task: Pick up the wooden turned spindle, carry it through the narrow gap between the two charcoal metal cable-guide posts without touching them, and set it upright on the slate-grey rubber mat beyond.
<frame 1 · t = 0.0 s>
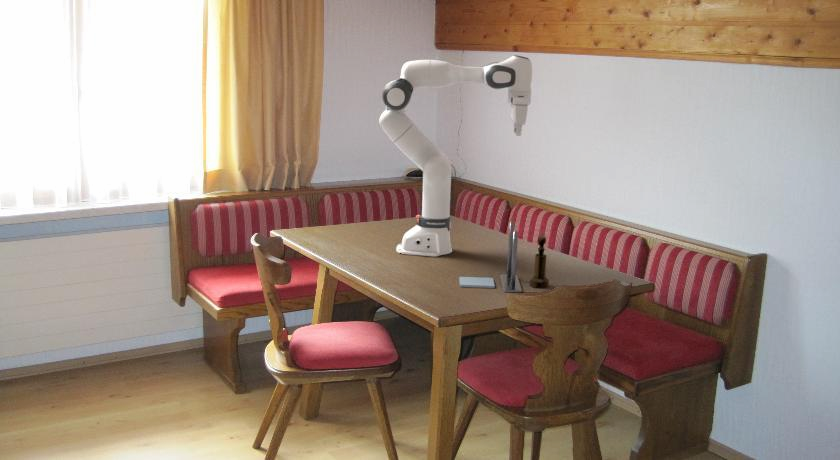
hand: (517, 134, 335), 48 cm above the table, fingers open, 8 cm apart
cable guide: (510, 284, 303), on the table
wooden turned spindle: (539, 286, 303), on the table
mat: (476, 283, 303), on the table
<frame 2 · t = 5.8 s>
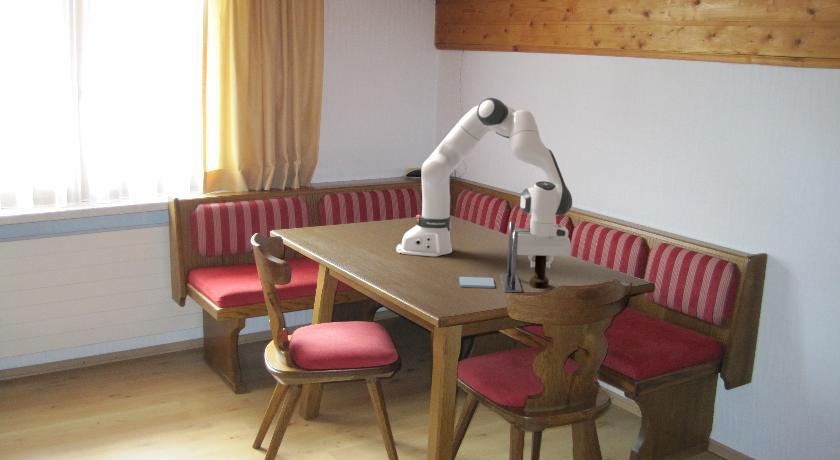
hand: (540, 267, 302), 7 cm above the table, fingers closed on wooden turned spindle, 4 cm apart
wooden turned spindle: (539, 286, 303), on the table, touching gripper
everything else where it was.
when the fingers open (9 cm above the table, at t = 15.1 s): wooden turned spindle stays where it is, resting on mat.
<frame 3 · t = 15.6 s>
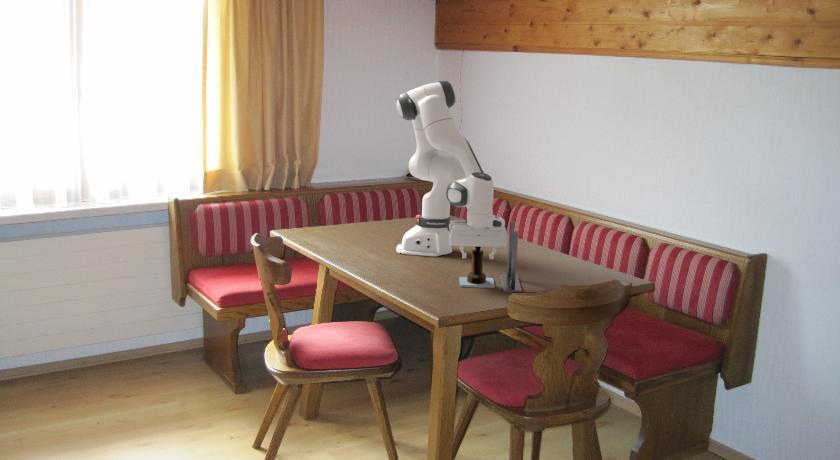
hand: (477, 258, 301), 9 cm above the table, fingers open, 8 cm apart
wooden turned spindle: (476, 281, 303), point 1 cm above the table, touching mat
everything else where it was.
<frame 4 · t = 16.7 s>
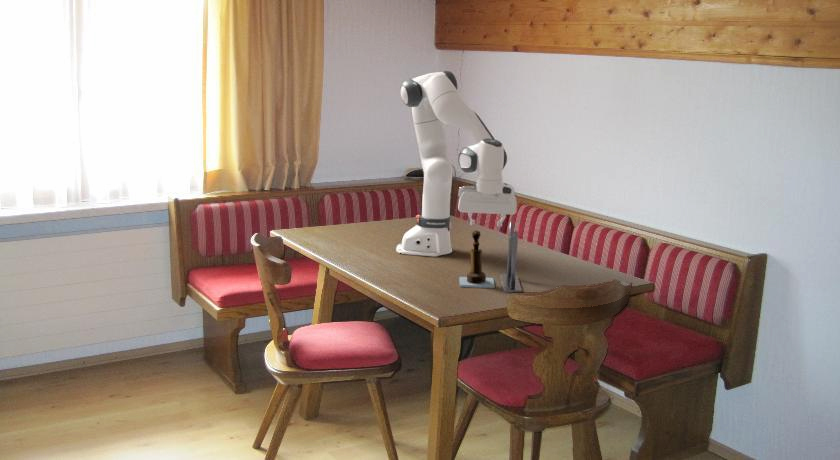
hand: (485, 225, 300), 21 cm above the table, fingers open, 8 cm apart
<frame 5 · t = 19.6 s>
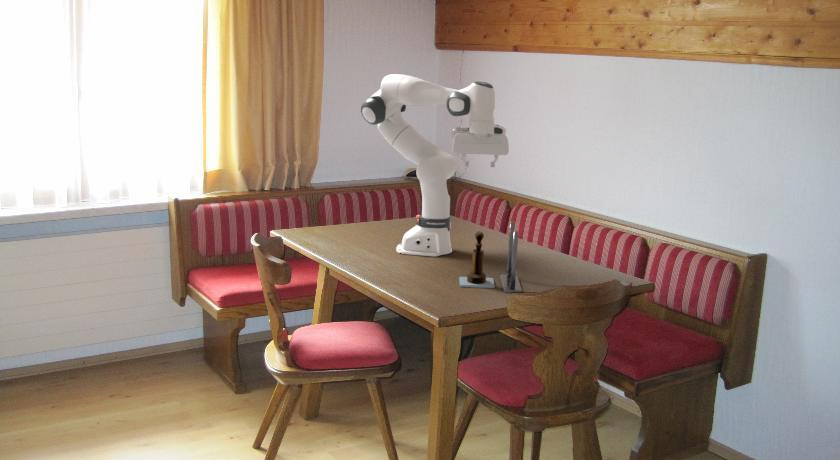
hand: (479, 166, 310), 39 cm above the table, fingers open, 8 cm apart
at the end: wooden turned spindle 0.1 cm off-centre on the mat, point 0.7 cm above the mat's base; wooden turned spindle tilted 1°; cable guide moved 0.1 cm from its start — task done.
